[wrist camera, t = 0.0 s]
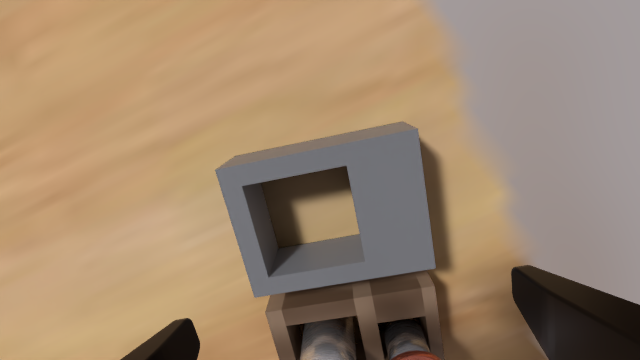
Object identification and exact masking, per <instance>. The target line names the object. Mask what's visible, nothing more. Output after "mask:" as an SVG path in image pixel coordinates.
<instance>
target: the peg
mask: <svg viewBox="0 0 640 360" xmlns="http://www.w3.org/2000/svg"><path fill="white" fill-rule="evenodd" d="M300 360H357V359H356V347H355V335H354V324H353V317H352V316H350V317H343V318H336V319H330V320H323V321H316V322H310V323H304V331H303V339H302V348H301V356H300Z"/></svg>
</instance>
